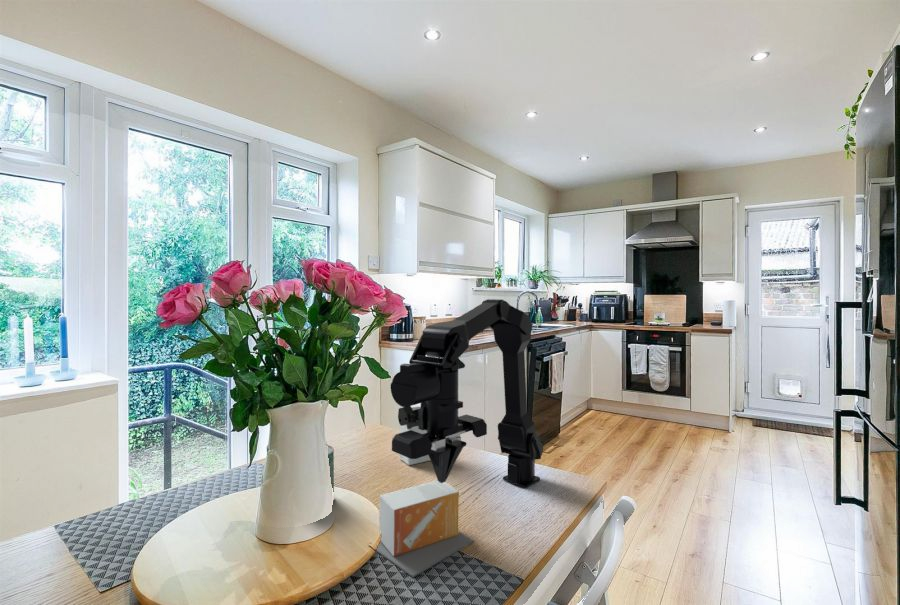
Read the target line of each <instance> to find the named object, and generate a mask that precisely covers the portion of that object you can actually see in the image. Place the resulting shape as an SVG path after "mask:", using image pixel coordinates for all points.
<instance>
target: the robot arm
mask: <svg viewBox="0 0 900 605" xmlns="http://www.w3.org/2000/svg"><path fill="white" fill-rule="evenodd" d="M488 328H489V329H491V330H492V331H493V337H494V342H495V344H496V345H497V346H498V348H499V349H500V351H501V353H502V369H503V370H502V371H503V387H504V390H503V391H504V407H505V414H504V416H503V418H502V420H501V422H498V424H497V431H498V432H497V433H498V435H497V440H498V443H499V447H500V452H501V453H502V454H507V455H508V456H507V459H508V460H507V461H508V462H507V474H506V475H504V476H503V477H502V480H503V481H506V482H508V483H511V484H514V485H516V486H518V487H521V488H523V489H524V488H527V487H529V486H532V485H533V484H535V483H537V482H539V481H541V477H540V476H538V475H535V472H536V471H535V467H536V466H535V464H536V462H535V461H536V460H541V459H542V456H543V453H544V445H543V443H542V442H541V440H540V438H539V437H538V435H537V430H536V425H535V422H534V420H533V418H532V417H531V416H530V414H529V413H528V404H527V403H528V402H527V401H528V400H527V381H526V363H525V351H526V348H527V346H529V343H530V342H531V340H532V330H533V322H532V320H531V317H529V316H528V314H526V313H525V312H524V311H522V310H520V309H519V308H517V307H514V306H513V305H511V304H509V302H508V301H506V300H504V299H498V298H497V299H490V298H488V299H485V300H483V301H482V302H481V303H480V304H478V305H477V306H475V307H474V308H471V310H468V311H467V312H465V313H464V314H462V315H460V316H458V317H457V318H455V319H452V320H449V321H443V322H442V321H441V322H436V323H433V324H429V325H427V326H425V327H424V328H423V330H422V334H421V335H420V337H419V339H418V342H417V344H416V346H415V348H414V350H413V352H412V354H411V357H410V358H409V363H401V364H400V365H399V371H398V372H396V374H394V376H393V378H392V380H391V383H390V394H391V397H392V399H393V400H394V402H395V404H397V406H399V408H398V412H397V419H398V423H399V426H400V425H401V426H403V425H407V429H411V428H412V427H415V426H418V429H420V430H426V431H427V433H425V434H420V433H418V432H415V431H412V430H410V431H406V432H403V433H400V432H399V433H397V434H395V435H394V436H393V437H392V439H391V452H394V453H396V454H398V455H399V454H401V455H403V456H405V457H408V458H410V459H417V458H420V457H423V456H426V455H429V458H430V462H431V465H432V467H433V470H434V473H435V477H436V479H437V480H438V481H439V482H440V483H444V482H447V480H448V477H449V475H450V473H451V471H452V470H453V468H454V466H455V463H456V462H457V459H458V458H459V456H460V454H461V452H462V450H463V449H464V447H466V446H467V442H466V441H464V440H462V437H461V435H462V434H465V433H468V432H471V431H472V434H473V435H474V437H475V438H481V437H483V436H487V434H488V432H487V430H488V425H487V423H486V421H485V420H484V418H481V417H477V416H475V415H469V414H464V415H460V416H459V409H461V408H462V409H463V408H464V402H463V400H462V401H461V400H459V370H461V369H464V368H465V367H466V364H465V363H464V362H463V360H461V359H460V357H461V356H462V355H463V354H464V353H465V352H466V351H467V350H468V349H469V347H470V341H471V339H473V338H474V337H476V336H477V335H479V334H481V333H482V332H483V331H485V330H486V329H488ZM419 403H421V408H420V409H417V410H412V408H411V406H412V405H416V404H419ZM400 406H402V407H403V408H400Z"/></svg>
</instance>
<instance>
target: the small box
mask: <svg viewBox="0 0 900 605" xmlns="http://www.w3.org/2000/svg"><path fill="white" fill-rule="evenodd" d="M459 498H460V492H459V490H458V489H457V488H455V487H453V486H452V485H450V484H449V483H447V481H445V482H444V483H440V482H439V481H438V479H437V480H433V481H429V482H425V483H422V484H418V485H415V486H410V487H406V488H402V489H399V490H395V491H391V492H387V493H383V494H380V495H379V511H378V512H379V513H378V514H379V516H378V521H379V532H380V531H381V533H382V537H381V542H382V543H383V544H384V546H385V547H386V548H387V549H388V550H389V552H390V553H391V554H392V555H393V556H397V555H400V554H403V553H406V552H409V551H412V550H415V549H418V548H421V547H424V546H427V545H430V544H433V543H436V542H439V541H442V540H444V539H447V538H450V537H453V536H456V535H458V532H459V505H460V503H459V502H460V501H459Z"/></svg>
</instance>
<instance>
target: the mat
mask: <svg viewBox="0 0 900 605" xmlns="http://www.w3.org/2000/svg"><path fill="white" fill-rule="evenodd" d="M473 542H474V539H473V538H471V537H469V536H467V535H465V534H464V533H462V532H460V531H458V535H456V536H453V537H450V538H447V539H444V540H442V541H439V542H436V543H433V544H430V545H427V546H424V547H421V548H418V549H415V550H412V551H409V552H406V553H403V554H400V555H397V556H393V555H392V554H391V553H390V552H389V550H388V549H387V548H386V547H385V546H384V544H383V543H382V542H380V544H379V546H378V548H377V550H376V551H375V552H376V553H378V554H379V555H380V556H382V557H383V558H385V559H386V560H387V561H389V562H390V563H392V564H393V565H394V566H396V567H397V568H398V569H400V570H401V571H403V572H404V573H406V574H407V575H409V576H410V577H411V578H414V577H416V576H418V575H419V574H422V573H423V572H424V571H426V570H428V569H430V568H431V567H433V566H435V565H436V564H438V563H440V562H441V561H443V560H445V559H446V558H448V557H449V556H452V555H453V554H455V553H457V552H458V551H460V550H461V549H463V548H464V547H465V548H466V546H468V545H470V544H471V543H473Z"/></svg>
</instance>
